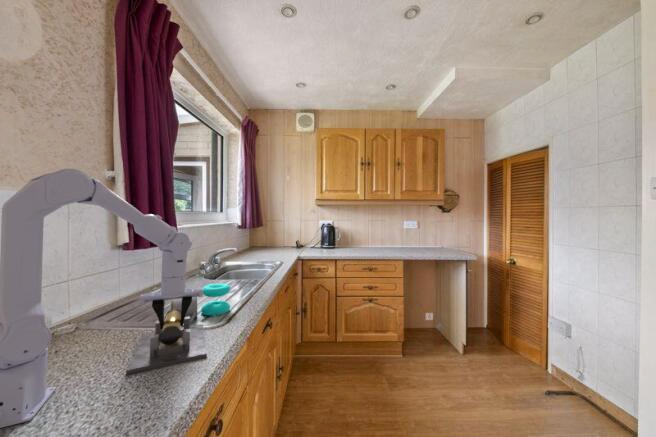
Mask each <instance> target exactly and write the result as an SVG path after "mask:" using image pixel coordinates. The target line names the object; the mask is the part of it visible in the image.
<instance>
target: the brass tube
mask: <svg viewBox="0 0 656 437" xmlns="http://www.w3.org/2000/svg"><path fill="white" fill-rule="evenodd" d="M180 320H181V311H180V310H179V309H171V308H170V309H169V310H168V311H167V312H166V314H165V315H164V326H163V330H162V332H161V336H160V341H161V342H162V343H163V344H165V345H172V344H174V343H175V342H177V341H178V339H179V338H180V328H181V327H182V326H181V324H180Z"/></svg>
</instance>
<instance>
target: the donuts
mask: <svg viewBox="0 0 656 437" xmlns="http://www.w3.org/2000/svg"><path fill="white" fill-rule="evenodd" d="M202 289H203V296H205V297H207V298H219V297H223V296H225V295H227V294H230V292H231V286H230V285H229V284H228V283H220V282H219V283H210V284H208V285H207V284H206V285H205V286H203V287H202ZM230 308H231V305H230V303H229V302H228V301H226V300H211V301H208V302H206V303H205V304H203V305H202V306H201V309H200V311H201V313H202V314H203V315H205V316H210V317H211V316H212V317H213V316H215V317H216V316H220V314H221V315H223V313H224V314H226V313H228V312H229V310H230ZM225 312H226V313H225Z"/></svg>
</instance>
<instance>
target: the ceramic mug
mask: <svg viewBox="0 0 656 437" xmlns="http://www.w3.org/2000/svg"><path fill="white" fill-rule="evenodd" d="M170 301H171V302H170V310H171V309H179V310H180V311H181V307H182V298H181V299H172V300H170ZM188 316H190V324H191V323H192V322H194V319H197V318H198V297H192V302H191V304H190V306H189V308H188V310H187V313H186V315H185V317H188ZM183 324H184V322H183Z"/></svg>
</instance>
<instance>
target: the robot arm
mask: <svg viewBox="0 0 656 437" xmlns="http://www.w3.org/2000/svg"><path fill="white" fill-rule="evenodd" d="M74 203H77V204H83V205H90V206H91V205H92V206H98V207H100V208H102V209H104V210H106V211H108V212H109V213H111V214H113V215H114V216H116V217H118V218H120V219H122V220H123V221H126V222H127V223H129V224H131V225H133V229H134V232H135V234H138V235H139V236H140V237H143V238H144V239H146V240H147V241H149V242H151V243H153V244H154V245H156V246H157V248H158V249H159V251H161V253H162V254H161V280H160V282H161V284H160V291H158V292H157V291H156V292H150V293H143V294H142V293H141V294H140V296H139V304H141V305H142V304H145V303H151V307H152V310H153V311H154V313H155V314H156V317H157V319H158V321H159V323H160V329H163V326H164V322H165V301H172V300H175V299H181V298H182V307H181V320H180V324H181V326H180V327H183V322H184V318H185V315H186V313H187V310H188V308H189V306H190V304H191V302H192V297H197V298H201V297H202V298H203V297H204V295H203V288H186V285H187V284H186V283H187V281H186V279H187V278H186V277H187V258H188V252H189V250H190V249H191V247H192V245H193V242H192V241H191V239H190V238H189V237H190V236H188V235H187V234H186V233H185V232H181V231H180V232H178V231H177V228H176V226H171V225H169V224H168V223H167V222H165V221H163V220H162V219H163V217H162V216H160V215H159V214H152V213H149V214H144V213H142V212H141V211H140V210H138V209H137V208H136V207H134V205H132V204H130V203H129V202H127V201H126V200H125V199H124V198H122V197H120V196H119V195H118V194H117V193H116V192H114V191H112V189H110V188H109V187H107V186H106V185H105V184H104V183H102V182H101V181H100V180H98V179H95V178H92V177H91V176H90V175H88V174H87V173H86V172H84V171H83V170H80V169H76V168H62V169H59V170H56V171H54V172H48V173H45V174H42V175H41V176H38V177H37V176H36V177H35V178H32V179H30V180H29V181H28V182H27V183H25V185H24V186H23V187H21V189H19V190H18V191H17V192H16V193H15V194H13V195H12V196H11V197H10V198H9V199H7V201H5V202H4V203H3V205H2V208H1V225H0V226H1V228H0V229H1V231H0V232H1V233H0V429H2V428H6V427H10V426H13V425H17V424H21V423H26V422H29V421H31V420H32V419H33V418H34V417H35V415H36V414H37V413H38V412H39V411H40V410H41V408H42V407H43V406H44V405H45V403H47V401H48V399H50V397H51V396H52V395H53V393H54V392H55V391H56V389H57V386H51V387H47V378H48V376H47V374H48V359H49V358H48V356H49V355H48V354H49V353H48V352H49V346H50V345H51V343H52V339H53V334H52V331H51V329H50V328H49V327H48V326H47V324H46V320H45V318H46V317H45V316H46V315H45V310H44V308H43V303H42V290H43V288H42V284H43V257H44V256H43V253H44V252H43V251H44V250H43V248H44V247H43V246H44V224H45V223H44V221H45V220H44V219H45V217H47V216H49V215H51V214H52V213H53V212H56V211H57V210H60V209H61V208H62V207H63V206H68V205H70V204H74Z"/></svg>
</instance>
